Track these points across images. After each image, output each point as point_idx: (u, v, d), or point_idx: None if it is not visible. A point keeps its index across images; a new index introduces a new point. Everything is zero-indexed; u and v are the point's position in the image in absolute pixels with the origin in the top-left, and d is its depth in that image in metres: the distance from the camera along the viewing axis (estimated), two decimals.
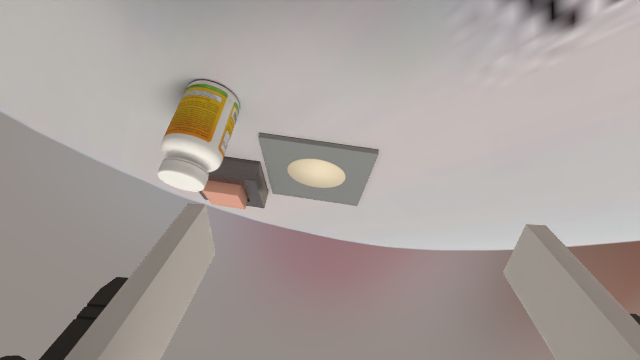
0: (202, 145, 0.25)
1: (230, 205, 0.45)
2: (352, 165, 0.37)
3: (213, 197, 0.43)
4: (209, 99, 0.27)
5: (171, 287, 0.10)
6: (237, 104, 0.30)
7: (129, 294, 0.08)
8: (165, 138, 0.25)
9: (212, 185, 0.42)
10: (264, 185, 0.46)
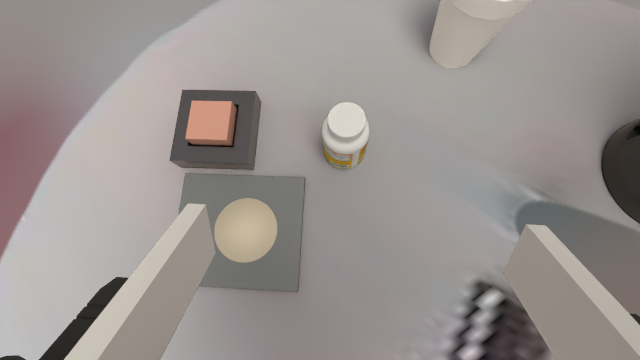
0: (363, 144, 0.32)
1: (193, 123, 0.37)
2: (271, 268, 0.36)
3: (213, 109, 0.37)
4: None
5: (171, 287, 0.10)
6: (346, 168, 0.38)
7: (129, 294, 0.08)
8: None
9: (233, 114, 0.38)
10: (206, 166, 0.39)
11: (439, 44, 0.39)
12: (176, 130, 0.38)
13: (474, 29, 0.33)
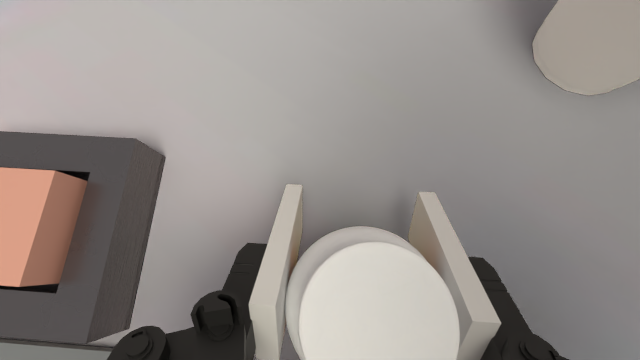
0: None
1: None
2: None
3: (1, 191, 0.14)
4: None
5: (292, 252, 0.11)
6: None
7: (276, 252, 0.10)
8: (424, 259, 0.10)
9: (64, 201, 0.15)
10: None
11: (584, 40, 0.16)
12: None
13: None
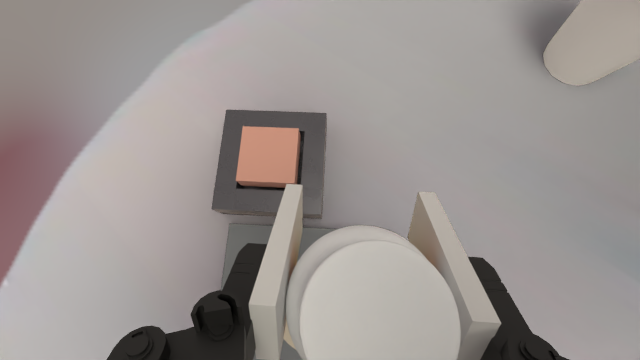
0: None
1: (246, 158, 0.27)
2: None
3: (273, 138, 0.27)
4: None
5: (292, 252, 0.11)
6: None
7: (276, 252, 0.10)
8: (425, 258, 0.10)
9: (298, 145, 0.28)
10: (259, 214, 0.29)
11: (573, 54, 0.29)
12: (219, 166, 0.28)
13: None
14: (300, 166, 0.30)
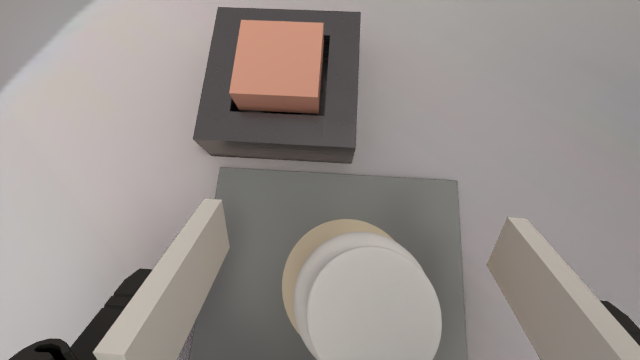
0: None
1: (246, 62, 0.18)
2: None
3: (286, 36, 0.18)
4: None
5: (192, 278, 0.10)
6: None
7: (155, 283, 0.09)
8: (416, 261, 0.12)
9: (322, 51, 0.19)
10: (262, 155, 0.20)
11: None
12: (206, 80, 0.19)
13: None
14: (321, 93, 0.22)
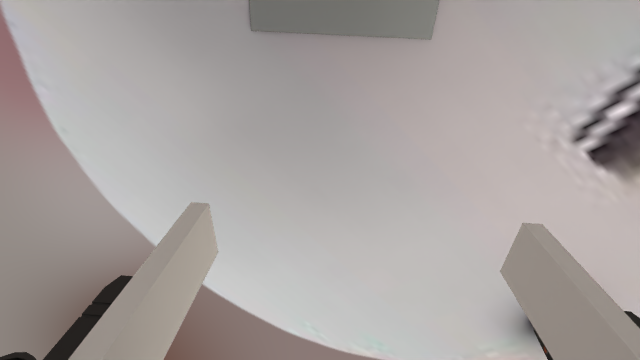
0: None
1: None
2: (398, 4, 0.25)
3: None
4: None
5: (175, 285, 0.10)
6: None
7: (134, 292, 0.08)
8: None
9: None
10: None
11: None
12: None
13: None
14: None
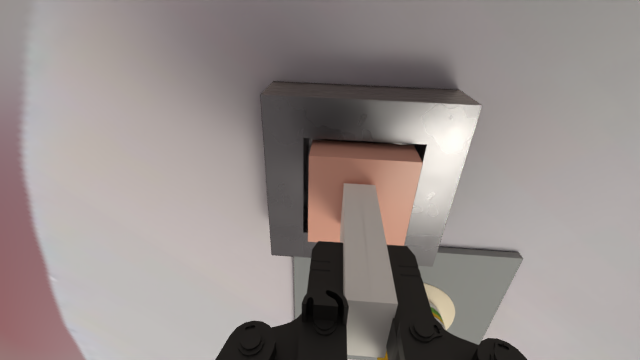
0: None
1: (322, 211, 0.15)
2: None
3: (370, 181, 0.14)
4: None
5: None
6: None
7: (355, 250, 0.10)
8: None
9: None
10: None
11: None
12: (271, 201, 0.17)
13: None
14: None
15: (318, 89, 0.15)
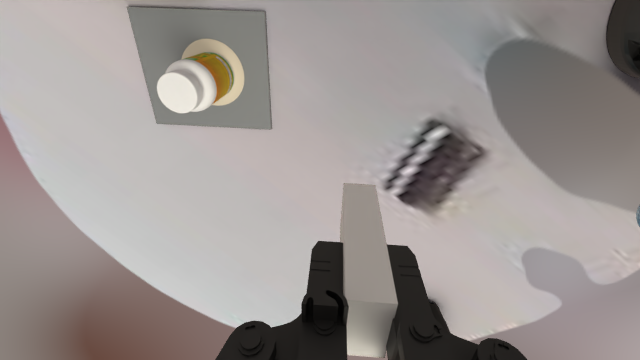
0: (211, 103, 0.32)
1: None
2: (245, 110, 0.39)
3: None
4: (228, 86, 0.35)
5: None
6: None
7: (355, 250, 0.10)
8: (206, 70, 0.30)
9: None
10: None
11: None
12: None
13: None
14: None
15: None
